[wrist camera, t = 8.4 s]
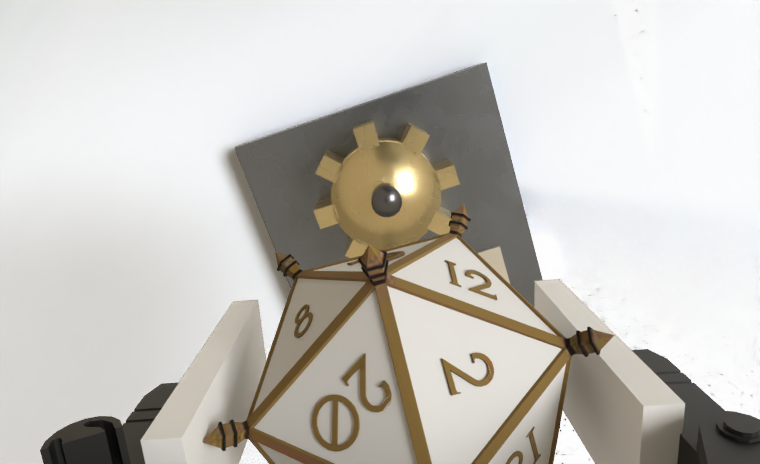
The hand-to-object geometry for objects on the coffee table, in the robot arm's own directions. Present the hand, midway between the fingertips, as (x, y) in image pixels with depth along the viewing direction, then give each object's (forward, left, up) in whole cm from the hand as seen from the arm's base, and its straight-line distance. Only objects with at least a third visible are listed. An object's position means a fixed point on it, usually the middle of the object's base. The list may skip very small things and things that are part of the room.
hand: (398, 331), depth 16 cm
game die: (0, 0, -2) cm, 2 cm away
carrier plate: (+3, +3, -17) cm, 17 cm away
